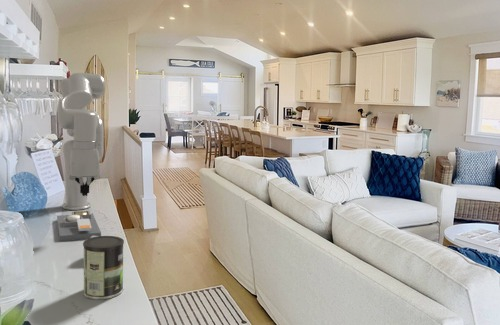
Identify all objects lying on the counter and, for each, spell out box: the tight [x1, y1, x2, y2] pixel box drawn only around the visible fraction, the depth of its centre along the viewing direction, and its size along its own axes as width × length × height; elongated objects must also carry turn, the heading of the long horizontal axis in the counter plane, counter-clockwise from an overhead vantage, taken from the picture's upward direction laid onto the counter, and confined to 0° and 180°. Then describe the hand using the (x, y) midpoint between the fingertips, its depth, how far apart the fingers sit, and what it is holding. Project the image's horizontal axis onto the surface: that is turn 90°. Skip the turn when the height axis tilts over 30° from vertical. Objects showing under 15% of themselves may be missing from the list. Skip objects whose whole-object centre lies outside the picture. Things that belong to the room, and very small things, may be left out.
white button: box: [67, 214, 80, 222], centre depth 166 cm, size 5×5×2 cm
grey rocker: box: [77, 219, 92, 231], centre depth 159 cm, size 9×4×1 cm, turn 26°
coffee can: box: [82, 235, 125, 301], centre depth 114 cm, size 10×10×14 cm
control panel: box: [56, 210, 102, 242], centre depth 167 cm, size 28×14×4 cm, turn 26°
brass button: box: [75, 210, 87, 215], centre depth 176 cm, size 5×5×2 cm
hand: (84, 195), depth 155 cm, fingers closed
